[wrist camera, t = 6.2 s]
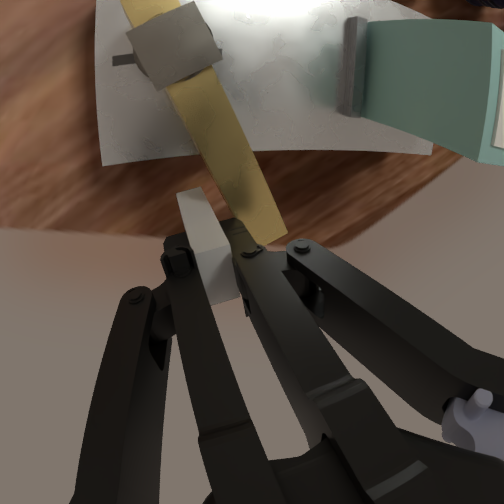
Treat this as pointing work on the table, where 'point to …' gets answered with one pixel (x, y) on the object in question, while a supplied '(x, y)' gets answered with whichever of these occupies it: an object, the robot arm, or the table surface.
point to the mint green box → (438, 83)
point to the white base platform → (254, 80)
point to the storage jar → (488, 3)
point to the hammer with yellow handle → (202, 105)
